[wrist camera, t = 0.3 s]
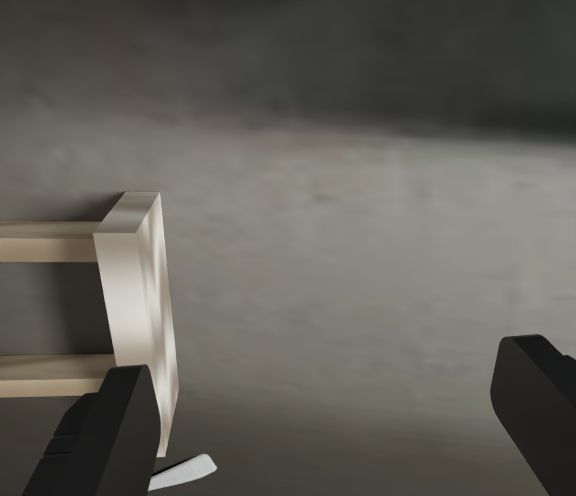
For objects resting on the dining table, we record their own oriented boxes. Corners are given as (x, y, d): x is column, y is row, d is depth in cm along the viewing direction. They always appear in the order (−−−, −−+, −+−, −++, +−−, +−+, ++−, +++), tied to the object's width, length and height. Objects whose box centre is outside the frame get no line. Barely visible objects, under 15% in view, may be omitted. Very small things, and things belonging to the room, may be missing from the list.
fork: (222, 444, 40) (223, 470, 38) (18, 531, 40) (6, 562, 38) (209, 425, 39) (209, 451, 37) (-1, 514, 39) (-15, 546, 36)
